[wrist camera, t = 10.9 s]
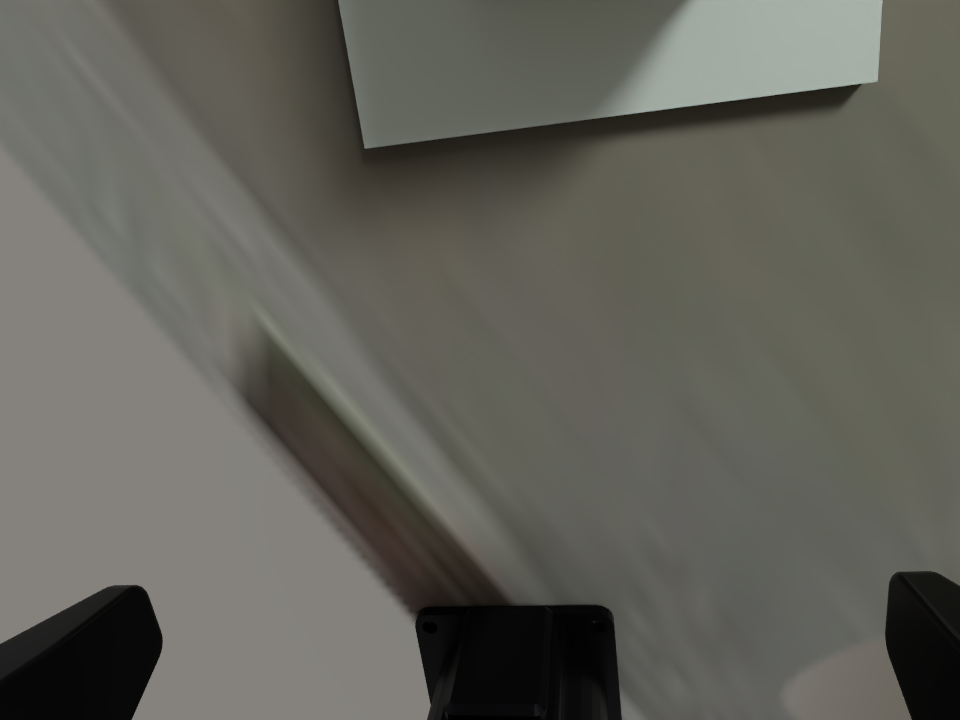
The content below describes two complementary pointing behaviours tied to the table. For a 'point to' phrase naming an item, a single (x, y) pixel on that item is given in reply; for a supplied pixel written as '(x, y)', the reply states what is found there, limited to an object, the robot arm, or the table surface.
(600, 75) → the board
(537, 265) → the table surface
